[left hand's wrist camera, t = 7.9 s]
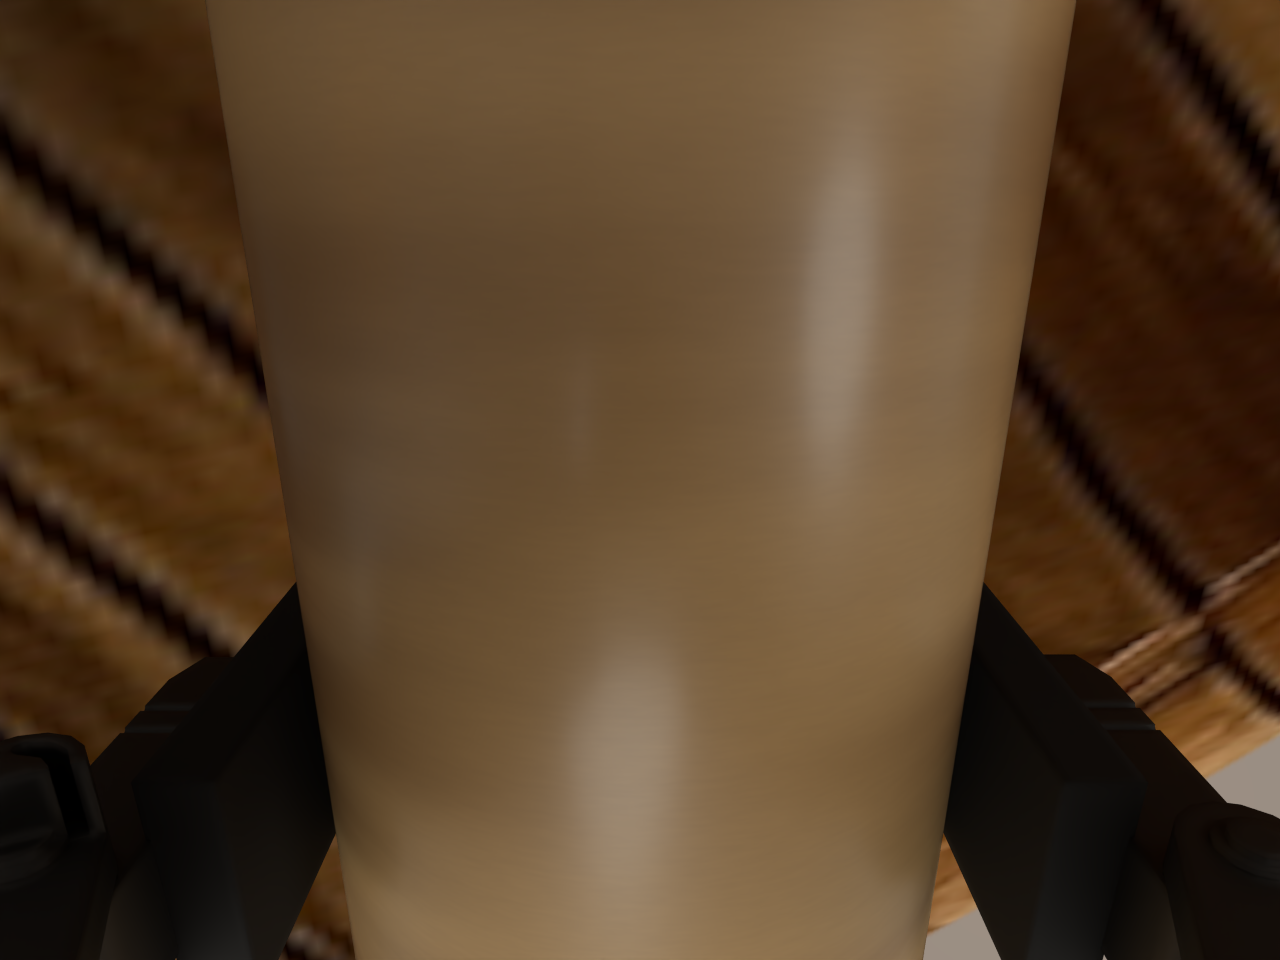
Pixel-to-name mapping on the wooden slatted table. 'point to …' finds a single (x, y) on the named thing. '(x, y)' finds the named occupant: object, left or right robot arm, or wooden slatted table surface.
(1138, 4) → the wooden slatted table surface
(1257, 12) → the wooden slatted table surface
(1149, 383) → the wooden slatted table surface
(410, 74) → the tan wooden cylinder
